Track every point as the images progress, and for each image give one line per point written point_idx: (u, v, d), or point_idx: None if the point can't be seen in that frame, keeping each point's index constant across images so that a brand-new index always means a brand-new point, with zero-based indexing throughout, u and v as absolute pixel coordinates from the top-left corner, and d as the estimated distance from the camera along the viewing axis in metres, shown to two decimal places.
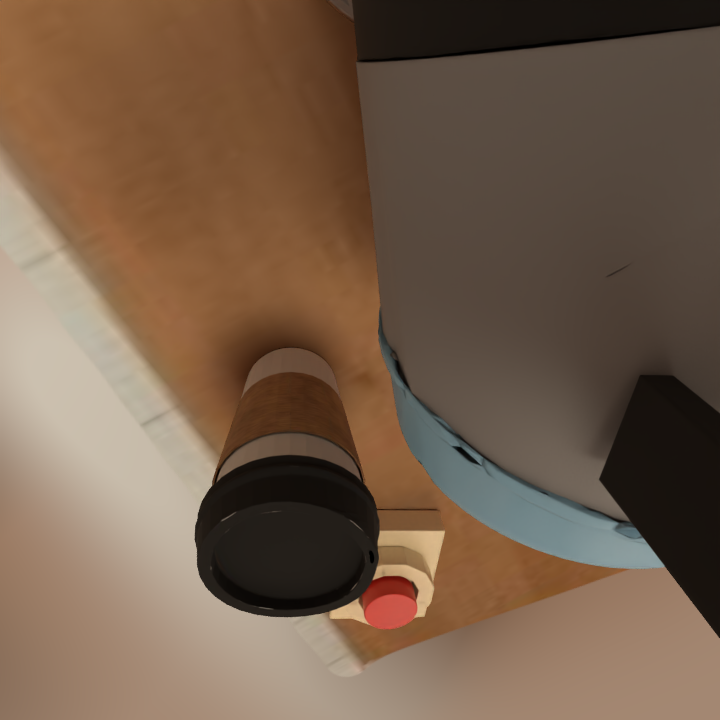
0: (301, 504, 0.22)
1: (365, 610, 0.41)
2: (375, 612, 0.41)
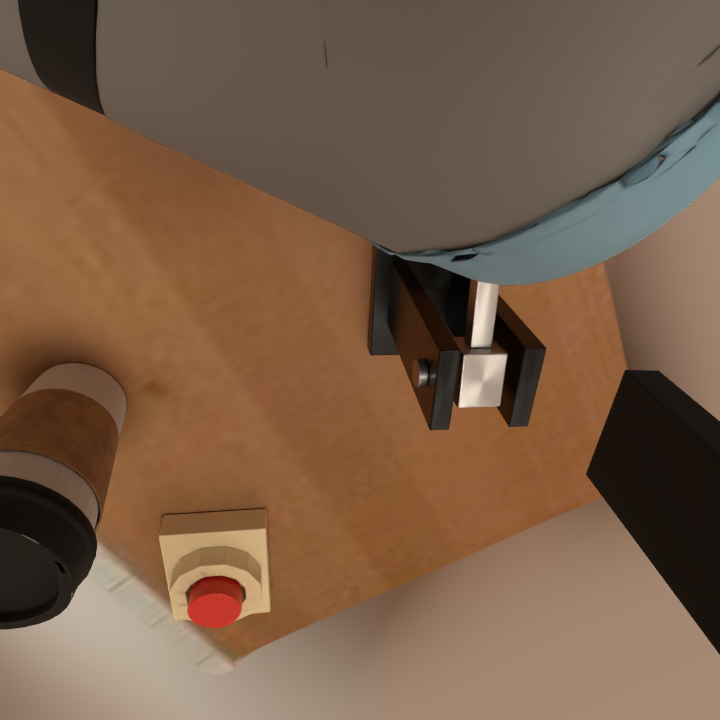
0: None
1: (188, 611, 0.42)
2: (198, 612, 0.42)
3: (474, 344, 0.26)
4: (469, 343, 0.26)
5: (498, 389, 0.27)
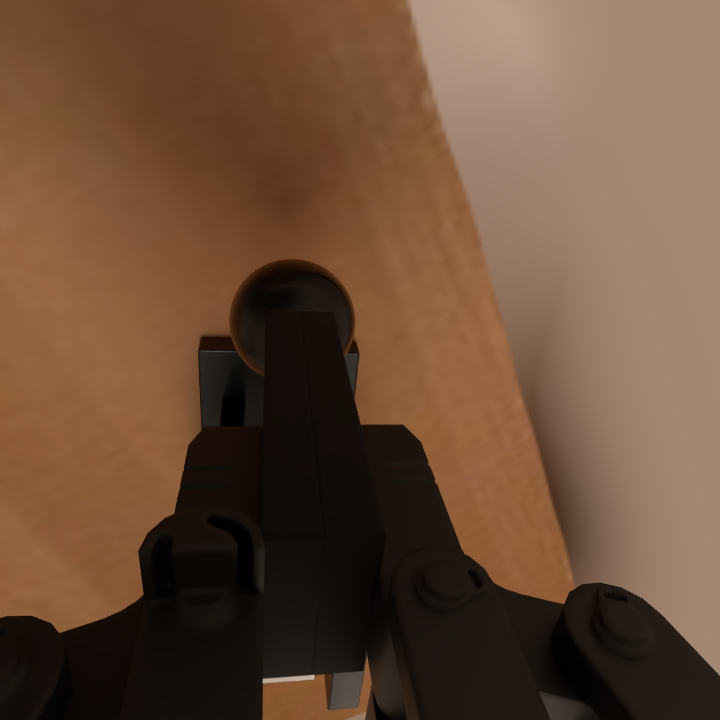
0: None
1: None
2: None
3: None
4: None
5: None
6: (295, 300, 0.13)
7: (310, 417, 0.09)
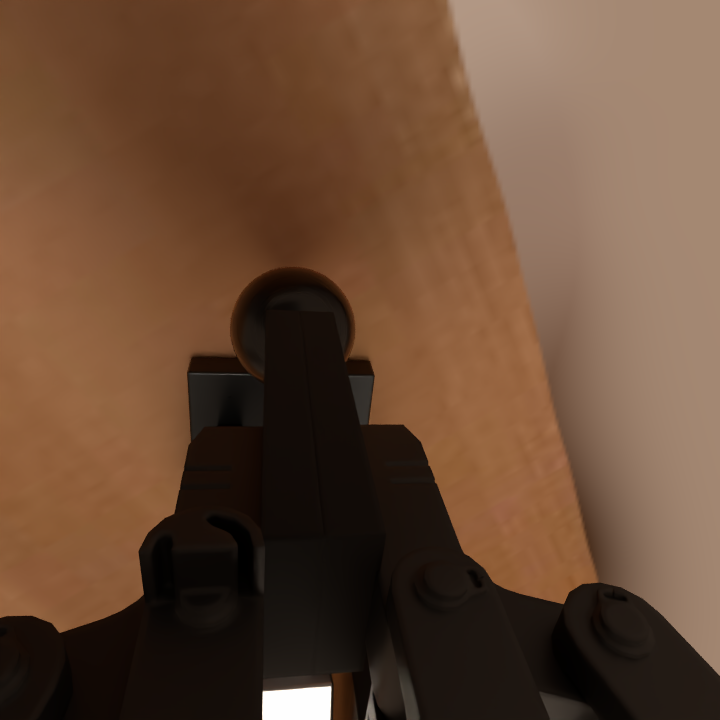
0: None
1: None
2: None
3: None
4: None
5: None
6: (296, 286, 0.13)
7: (310, 417, 0.09)
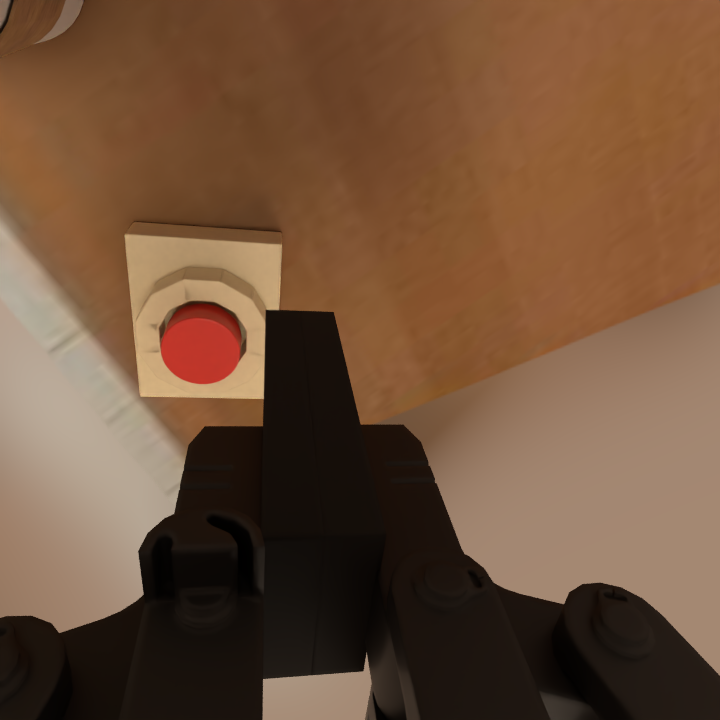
0: None
1: (161, 347, 0.28)
2: (177, 351, 0.28)
3: None
4: None
5: None
6: None
7: (310, 417, 0.09)
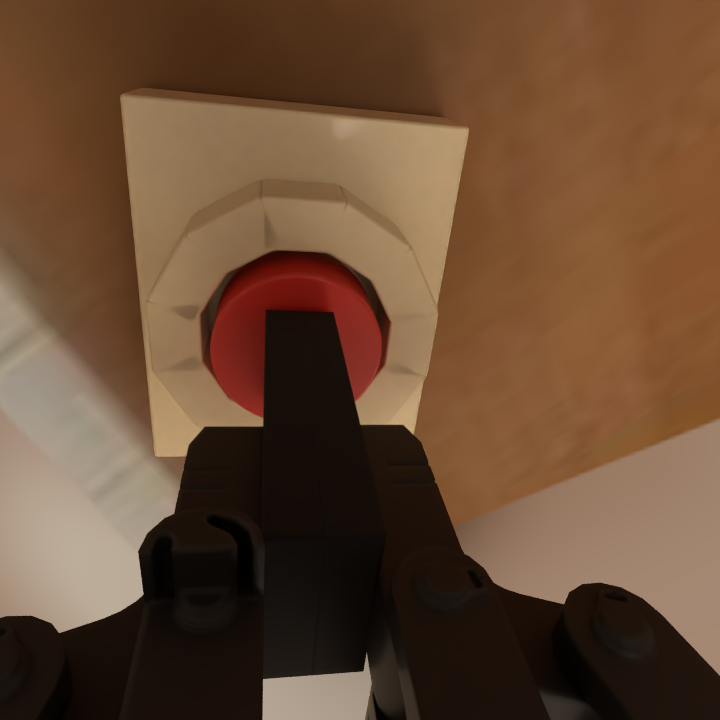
0: None
1: (213, 344, 0.13)
2: (247, 352, 0.13)
3: None
4: None
5: None
6: None
7: (310, 417, 0.09)
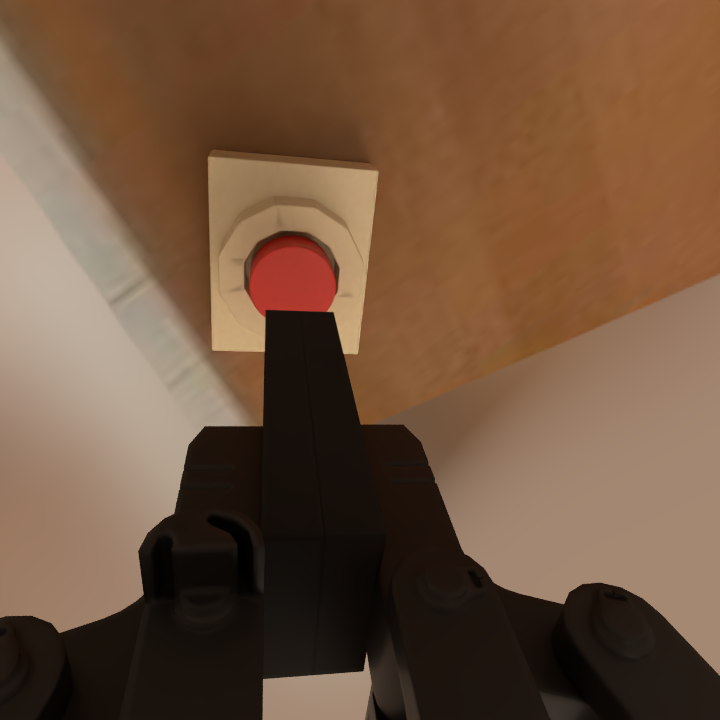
0: None
1: (250, 281, 0.25)
2: (267, 286, 0.25)
3: None
4: None
5: None
6: None
7: (310, 417, 0.09)
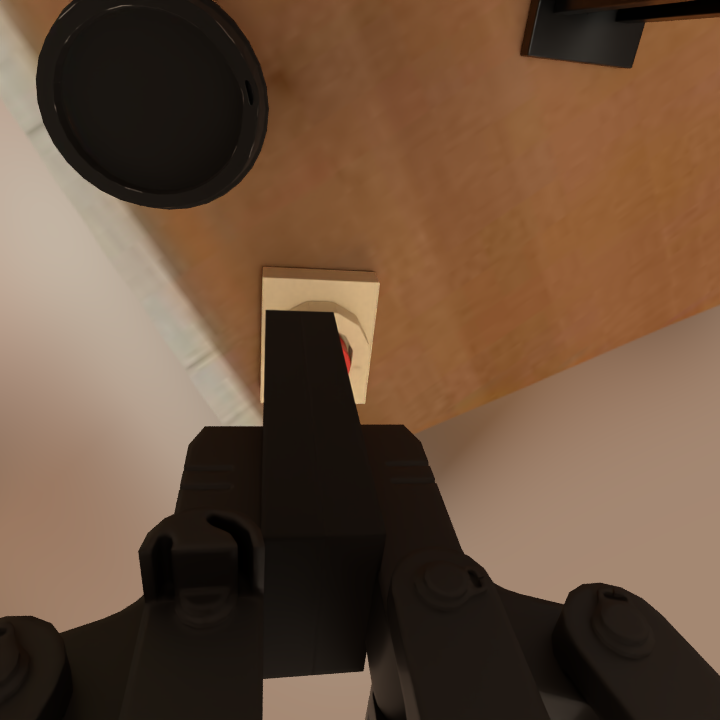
0: None
1: None
2: None
3: None
4: None
5: None
6: None
7: (310, 417, 0.09)
